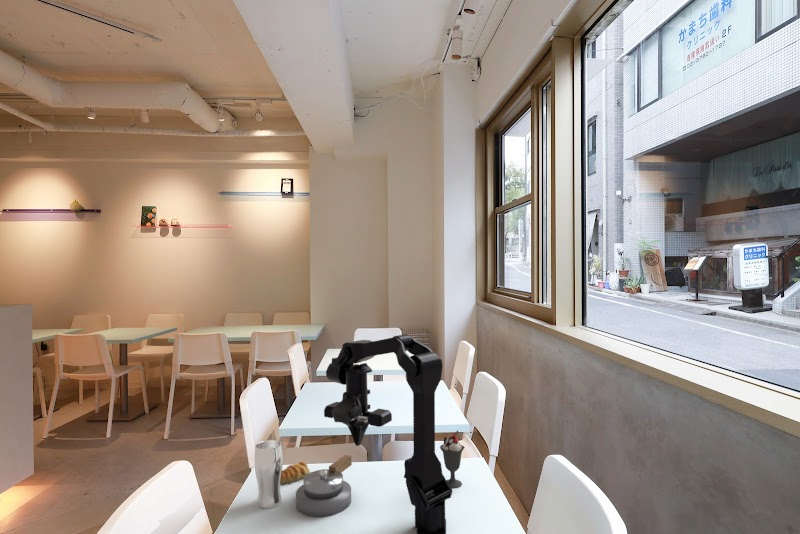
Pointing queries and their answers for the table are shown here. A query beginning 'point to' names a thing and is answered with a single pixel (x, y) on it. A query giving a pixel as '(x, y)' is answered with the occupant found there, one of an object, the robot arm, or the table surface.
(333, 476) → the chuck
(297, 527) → the table surface
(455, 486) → the sundae
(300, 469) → the pastry
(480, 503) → the table surface
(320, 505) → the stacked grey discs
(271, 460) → the beer glass
